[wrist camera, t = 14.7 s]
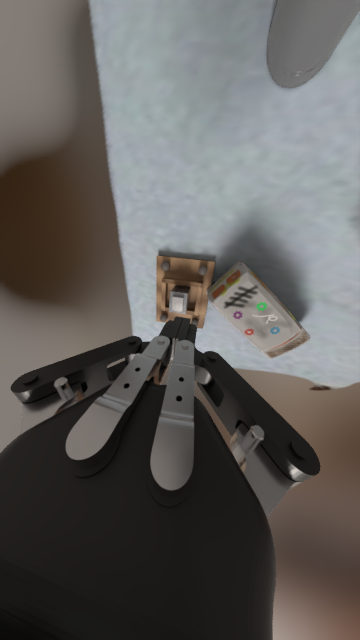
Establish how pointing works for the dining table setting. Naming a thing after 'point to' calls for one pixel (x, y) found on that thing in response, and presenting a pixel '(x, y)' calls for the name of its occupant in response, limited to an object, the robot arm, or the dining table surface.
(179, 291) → the block
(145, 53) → the dining table surface
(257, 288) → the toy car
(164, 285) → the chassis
